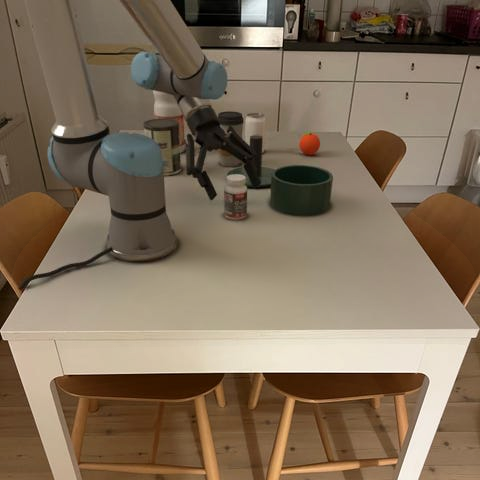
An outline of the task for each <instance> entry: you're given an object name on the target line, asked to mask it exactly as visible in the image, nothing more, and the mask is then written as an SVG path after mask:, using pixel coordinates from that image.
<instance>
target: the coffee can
mask: <svg viewBox="0 0 480 480" xmlns="http://www.w3.org/2000/svg"><path fill="white" fill-rule="evenodd" d="M142 124H143V133H144V135H145V136H147V137H150V138H152V139H153V140H155V141H156V142H157V143H158V145H159V146H160V149H161V155H162V160H163V165H164V167H163V169H164V177H165V176H173V175H176V174H179V173H180V172H181V171H182V165H181V153H180V145H179V127H178V126H179V122H178V121H176V120H173V119H155V118H153V119H147V120H145V121H144V122H143V123H142Z"/></svg>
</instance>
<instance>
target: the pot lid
mask: <svg viewBox="0 0 480 480" xmlns="http://www.w3.org/2000/svg"><path fill="white" fill-rule="evenodd" d="M262 140H263V137H262V136H259V135H253V136H250V147H251V148H252V149H253V150H254V151H255V152H256V153H257V156H256V157H255V158H254V159H253V162H254V164H255V166H256V168H257V172H256V173H257V175H258V177H259V179H260V181H261V184H260V185H259V186H258V187H257V188H264V187H271V175H272V172H273V171H274V170H275V169H276V168H272V167H267V166H262V163H263V153H262ZM232 174H240V175H244V176H245V177H246V182H245V184H244V185H245V186H246V187H247V188H248V187H249V188H254V187H253V185H252V183H251V181H250V179H249V177H248V175H247V173H246V171H245V169H244V167H243V166H240V167H236V168H233V169H231V170H229V171H227V173H226V177H227V176H228V175H232Z"/></svg>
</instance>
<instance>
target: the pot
mask: <svg viewBox="0 0 480 480" xmlns="http://www.w3.org/2000/svg"><path fill="white" fill-rule="evenodd" d="M274 169H275V170H274V171H273V172H272V175H271V186H270V195H269V196H270V197H269V201H270V202H269V203H270V206H271V208H272V209H273V210H275V211H276V212H279V213H282V214H285V215H289V216H296V217H309V216H317V215H321V214H324V213H326V212H327V211H328V210H329V208H330V205H331V198H332V189H333V181H334V176H333V173H332V172H330V171H329V170H327V169H325V168H322V167H318V166H314V165H308V164H307V165H305V164H291V165H284V166H279V167H277V168H274Z"/></svg>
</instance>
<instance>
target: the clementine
mask: <svg viewBox="0 0 480 480" xmlns="http://www.w3.org/2000/svg"><path fill="white" fill-rule="evenodd" d="M300 137H301V138H300ZM298 138H299V139H300V140H299V143H298V146H299V147H298V148H299V149H300V151H301V152H302V153H303V154H304V155H307V156H312V155H314V154H316V153H317V152H318V151H319V149H320V147H321V140H320V138H319V136H318V135H316V134H315V133H313V132H303V133H302V134H300V135H299V136H298Z"/></svg>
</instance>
